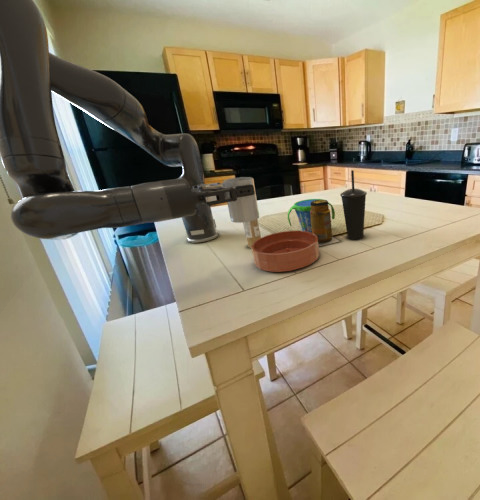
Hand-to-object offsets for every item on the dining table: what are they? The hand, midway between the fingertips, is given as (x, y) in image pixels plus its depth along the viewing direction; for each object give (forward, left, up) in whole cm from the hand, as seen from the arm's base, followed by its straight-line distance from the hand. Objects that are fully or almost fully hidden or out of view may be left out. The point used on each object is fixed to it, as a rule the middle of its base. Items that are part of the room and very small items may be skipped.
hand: (248, 187), depth 61 cm
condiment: (-15, +16, -20) cm, 30 cm away
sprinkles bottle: (-16, -5, -20) cm, 26 cm away
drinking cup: (-15, +26, -20) cm, 36 cm away
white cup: (+1, -2, -7) cm, 7 cm away
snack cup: (-24, +13, -20) cm, 34 cm away
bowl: (-3, +6, -20) cm, 21 cm away
